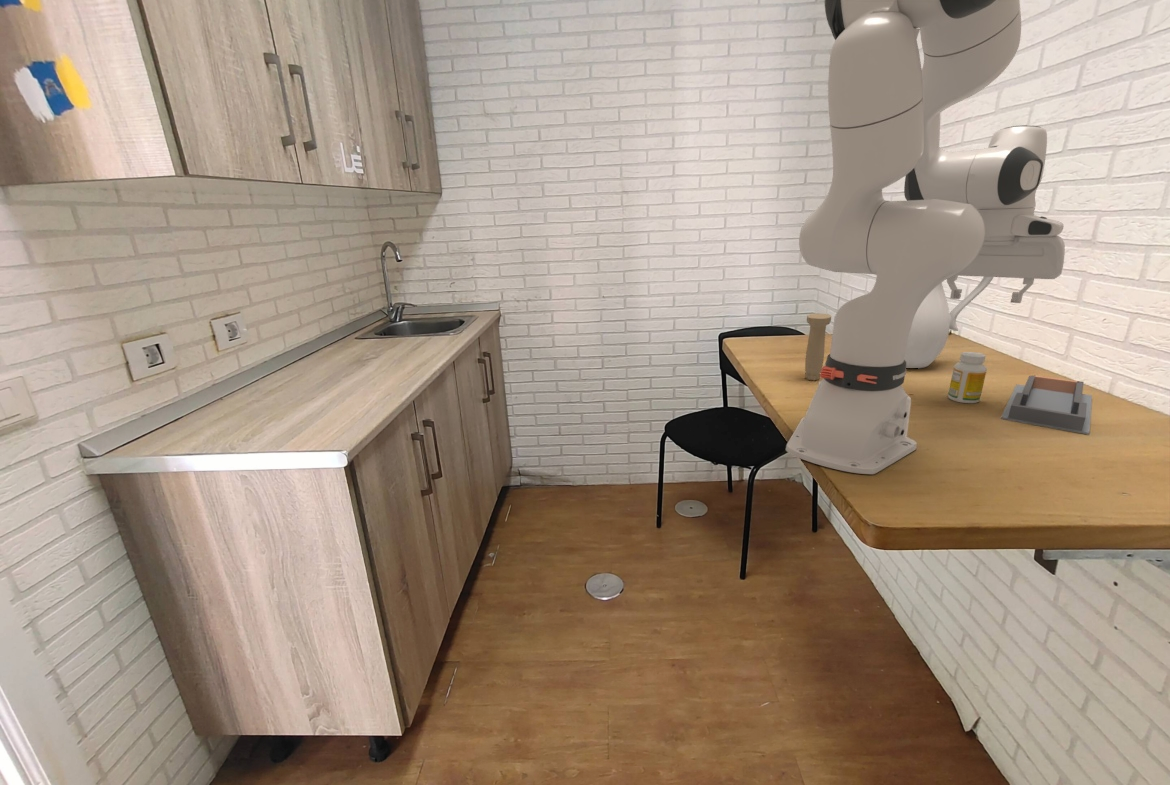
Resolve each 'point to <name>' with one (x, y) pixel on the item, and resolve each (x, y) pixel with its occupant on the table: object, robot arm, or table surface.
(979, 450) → the table surface
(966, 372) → the supplement bottle
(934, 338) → the pitcher
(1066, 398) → the gray rectangular stand
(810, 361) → the handle
